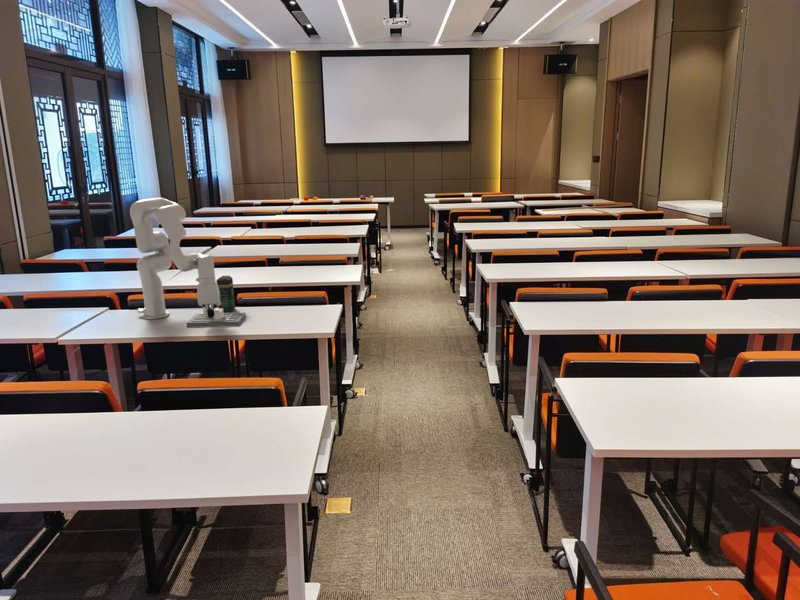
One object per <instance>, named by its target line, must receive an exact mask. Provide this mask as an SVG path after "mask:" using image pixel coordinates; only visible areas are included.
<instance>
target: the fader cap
mask: <svg viewBox="0 0 800 600" xmlns="http://www.w3.org/2000/svg"><path fill="white" fill-rule="evenodd" d="M214 315H215V319H222V318H223V317H224V312H223V309H221V308H219V307H218V308H216V309H214Z"/></svg>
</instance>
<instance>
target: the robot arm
mask: <svg viewBox="0 0 800 600" xmlns="http://www.w3.org/2000/svg"><path fill="white" fill-rule="evenodd" d="M129 216H130V219H131V221H132V224H133V230H134V236H135V243H136V247H137V250H138V252H140V253H142V254H147V255H144V256H142V257H140V258H139V259H138V260H137V262H136V269H137V272H138V274H139V277H140V278H139V279H140V281H141V282H140V283H141V289H142V295H143V303H144V308H143V307H142V308H140V307H139V308H137V313H138V314H143V315H142V319H145V320H159V319H162V318H163V319H164V318H166V317H168V316H169V315H170V311H168V310H167V309H166V304H165V296H164V290H163V289H164V288H163V283H162V279H161V277H160V276H159V275H158V273H163V272H165V271H167V270H169V269H170V268H171V266H172V262H173V264H174V265H175V267H176V268H177V269H178V271H180V272H190V271H194V270H197V273H198V274H197V275H198V277H197V278H195V281H196V282H198V283H197V286H196V287H197V288H196V289H197V291H196V296H197V303H198V307H202V308H203V307H204V308H206V310H207V314H208V316H209V318H213V316H214V311H215V308H216V307H219V305H221V301H220V300H221V297H220V291H219V287H218V284H217V282H216V280H217V279H216V272H215V262H214V257H213V255H211V254H204V253H199V252H194V253H190V254H185V255H184V253H183V252H182V249H181V247H180V243H181V241H182V240H183V238H185V237H186V236H187V231H186V229H185V228H184V225H183V224H182V221H184V220H185V219H186V216H187V215H186V210H185V209H184V207H183V206H182V205H181V204H178V203H176V202H174V201H171V200H169V199H166V198H164V197H154V198H145V199H140V200H137V201H135V202H133V203H132V205H130V208H129ZM150 217H156V218H157V220H158V222H159V224H160V226H161V227H162V229H163V231H164V232H165V233H163V232H161V231H154V227H153V224H152V222H151V220H150V219H149V218H150ZM149 253H153V254H149ZM209 305H211V308H210V306H209Z"/></svg>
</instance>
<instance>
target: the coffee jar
mask: <svg viewBox="0 0 800 600" xmlns="http://www.w3.org/2000/svg"><path fill="white" fill-rule="evenodd" d="M215 280H216V282H217V284H218V287H219V291H220V297H221V300H220V301H221V305H219V306H218V309H219V308H221V309H223V312H224V313H234V311H235V309H236V303H235V294H234V281H233V277H232V276H230V275H222V276H220V277H218V278H217V279H215Z"/></svg>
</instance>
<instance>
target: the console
mask: <svg viewBox="0 0 800 600" xmlns="http://www.w3.org/2000/svg"><path fill="white" fill-rule="evenodd" d="M209 306H210V308H211V304H209ZM202 308H203V309H202V310H203V313H196V314H194V315H192V317H191V318H190V319H189V320H188V321H187V322H186V323H185V324H186V328H191V327H193V328H194V327H195V328H196V327H198V328H199V327H228V326H229V327H230V326H231V327H234V326H235V327H236V326H240V325H241V323H242V322H243V320H244V319H245V318H246V315H247V314H246V312H228V313H224V317H223V318H222V319H215V315H214V316H213V318H209V316H208V314H207V310H206V308H204V307H203V306H202Z"/></svg>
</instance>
